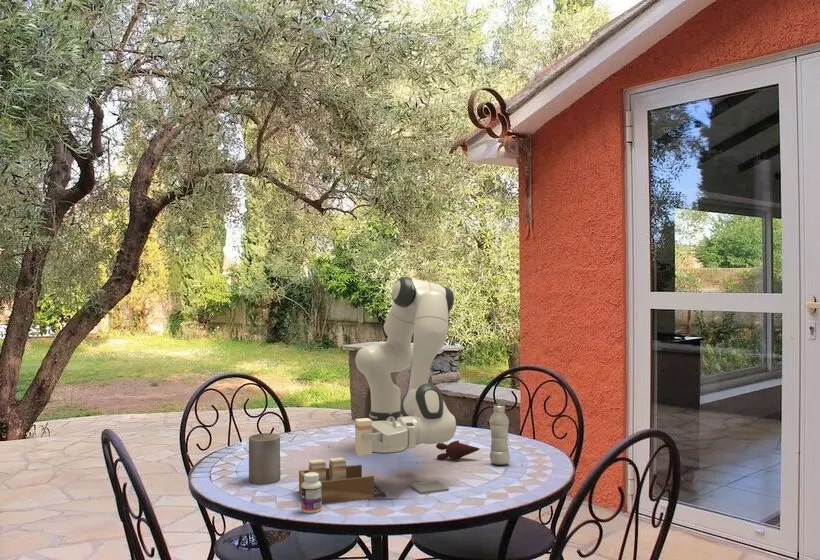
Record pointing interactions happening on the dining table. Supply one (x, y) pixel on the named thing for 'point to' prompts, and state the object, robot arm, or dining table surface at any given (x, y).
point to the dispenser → (342, 481)
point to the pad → (429, 487)
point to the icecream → (455, 450)
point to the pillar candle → (264, 458)
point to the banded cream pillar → (361, 428)
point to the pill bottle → (311, 493)
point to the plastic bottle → (499, 436)
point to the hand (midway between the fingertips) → (360, 435)
